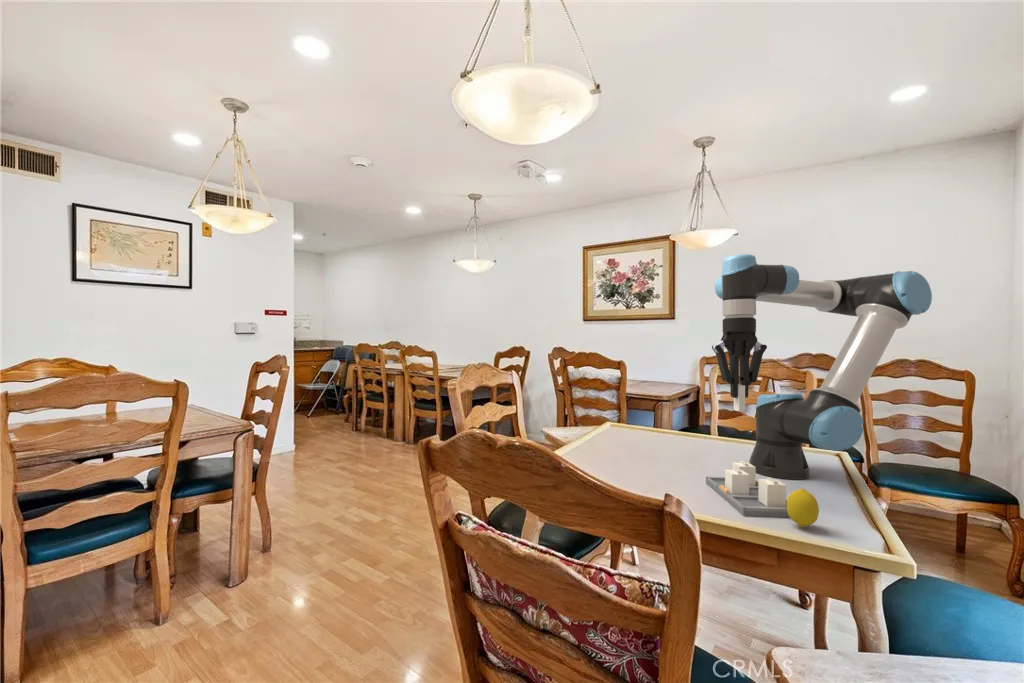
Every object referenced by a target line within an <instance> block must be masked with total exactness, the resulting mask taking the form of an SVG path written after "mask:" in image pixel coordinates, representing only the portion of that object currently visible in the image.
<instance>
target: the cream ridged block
mask: <svg viewBox="0 0 1024 683" xmlns="http://www.w3.org/2000/svg"><path fill="white" fill-rule="evenodd" d="M732 468H733V467H732ZM724 477H725V488H726V489H727V490H728V492H729V493H730V494H731V495H748V496H749V474H747V473H746V472H744V471H743V470H738V469H737V468H733V470H732V469H725V470H724Z"/></svg>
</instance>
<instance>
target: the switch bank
mask: <svg viewBox="0 0 1024 683" xmlns="http://www.w3.org/2000/svg"><path fill="white" fill-rule="evenodd" d="M705 484H706V485H707V486H709V488H710V489H712V490H713V491H714V492H715V493H716V494H718V495H719V496H720V497H721V498H722V499H724V500H725V501H726V502H727V503H728V504H729V505H730V506H732V508H734V509H735V510H736V511H737V512H738V513H739V514H740V515H741V516H743V517H762V518H763V517H764V518H765V517H766V518H786V517H787V518H788V519H789V518H790V517H789V515H788V512H787V499H786V508H784V507H766V506H765V505H764V504H762V503H761V502H760V501H758V490H759V480H755V486H749V496H748V495H731V494H730V493H729V492H728V490H727V489H726V488H725V476H705ZM790 519H791V518H790Z"/></svg>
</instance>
